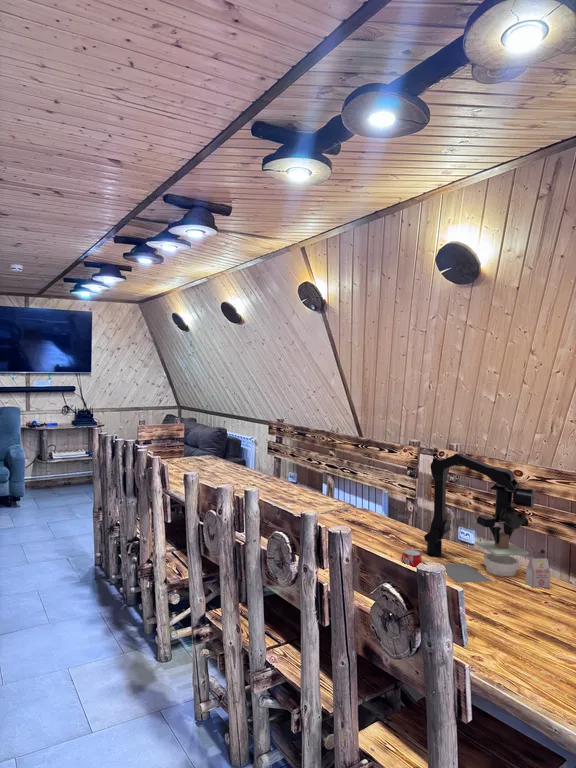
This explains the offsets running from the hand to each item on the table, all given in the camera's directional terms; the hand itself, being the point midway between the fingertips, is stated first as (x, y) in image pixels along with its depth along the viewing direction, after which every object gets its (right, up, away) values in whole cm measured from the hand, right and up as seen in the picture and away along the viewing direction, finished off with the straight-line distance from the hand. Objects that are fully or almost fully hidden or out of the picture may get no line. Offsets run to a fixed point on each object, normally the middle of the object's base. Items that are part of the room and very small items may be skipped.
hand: (501, 543), depth 194 cm
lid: (0, -2, 0) cm, 2 cm away
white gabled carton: (+8, -12, -12) cm, 19 cm away
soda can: (-39, -10, -17) cm, 43 cm away
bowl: (0, -11, 0) cm, 11 cm away
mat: (-16, -10, -3) cm, 20 cm away
